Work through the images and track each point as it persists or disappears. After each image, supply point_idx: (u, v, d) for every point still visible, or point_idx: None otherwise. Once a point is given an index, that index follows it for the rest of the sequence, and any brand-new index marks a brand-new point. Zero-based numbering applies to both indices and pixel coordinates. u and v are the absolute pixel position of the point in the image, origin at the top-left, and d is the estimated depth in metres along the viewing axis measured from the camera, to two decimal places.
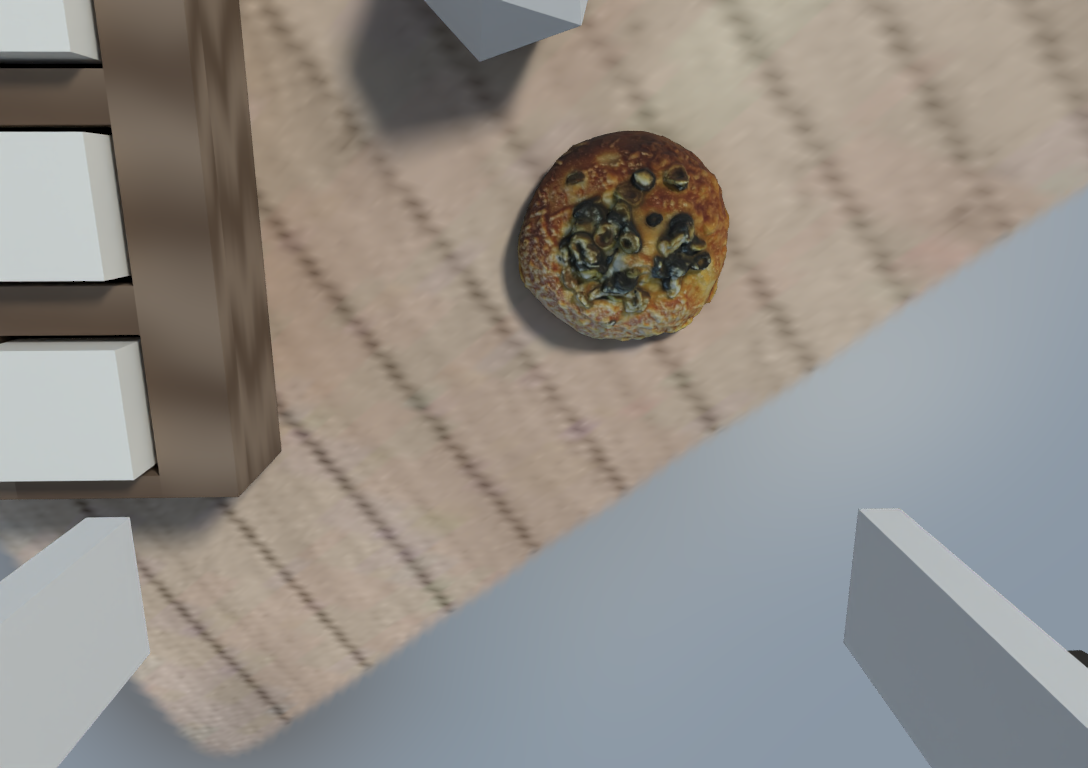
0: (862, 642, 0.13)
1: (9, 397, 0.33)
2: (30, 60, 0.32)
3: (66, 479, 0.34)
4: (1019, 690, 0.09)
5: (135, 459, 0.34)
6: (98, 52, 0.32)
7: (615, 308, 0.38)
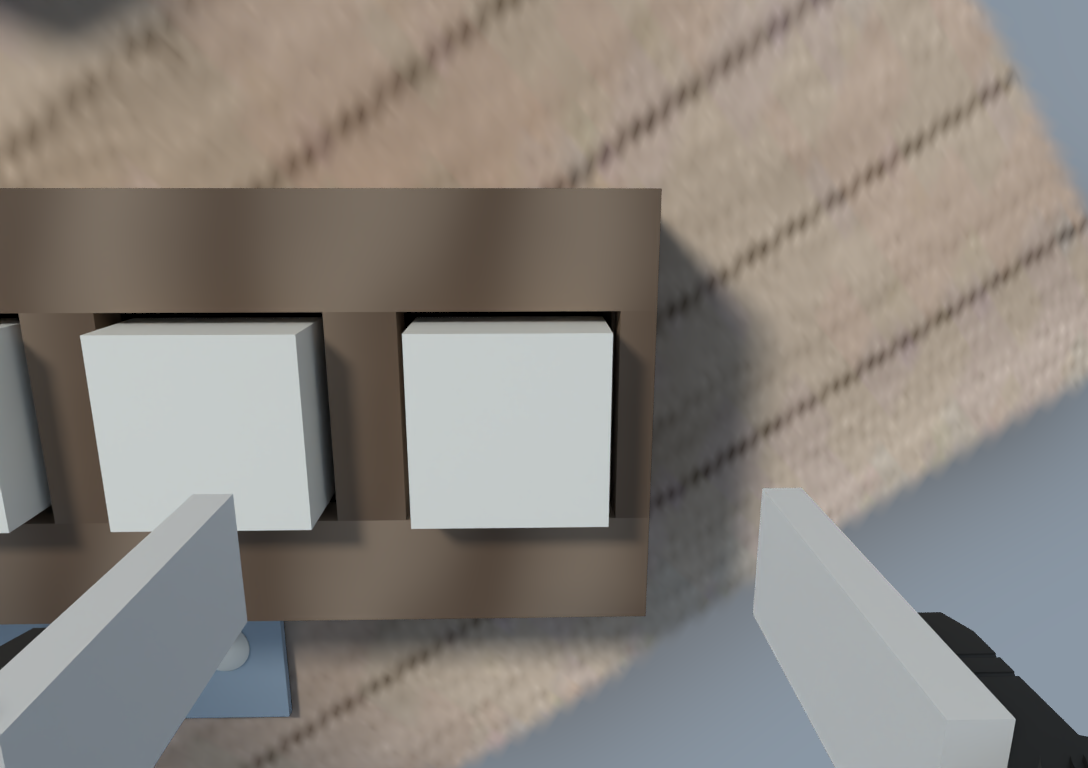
0: (765, 612, 0.14)
1: (479, 493, 0.23)
2: None
3: (610, 434, 0.22)
4: (866, 643, 0.10)
5: (583, 330, 0.22)
6: (9, 323, 0.23)
7: None
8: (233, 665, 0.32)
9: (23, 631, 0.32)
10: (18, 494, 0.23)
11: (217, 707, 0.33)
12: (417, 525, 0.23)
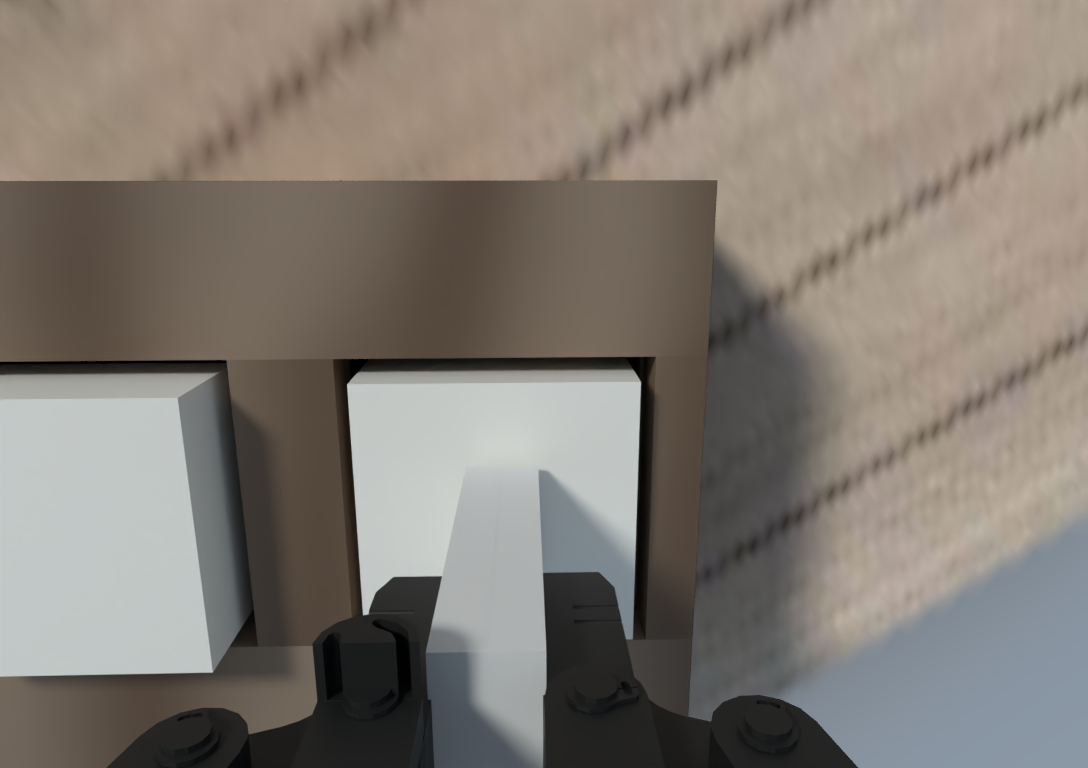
0: None
1: None
2: None
3: (635, 516, 0.16)
4: None
5: (599, 377, 0.16)
6: None
7: None
8: None
9: None
10: None
11: None
12: None
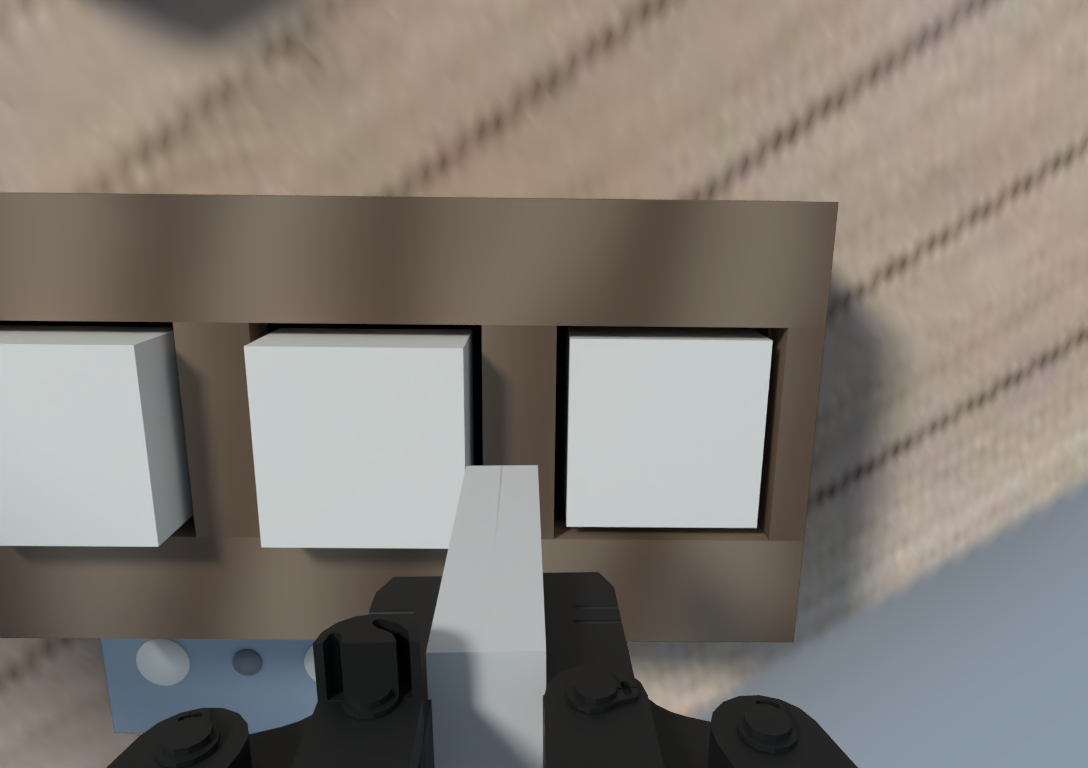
0: None
1: (633, 493, 0.23)
2: (180, 423, 0.23)
3: (762, 437, 0.23)
4: None
5: (741, 338, 0.23)
6: (159, 331, 0.23)
7: None
8: None
9: (130, 642, 0.31)
10: (165, 507, 0.22)
11: None
12: (572, 524, 0.24)
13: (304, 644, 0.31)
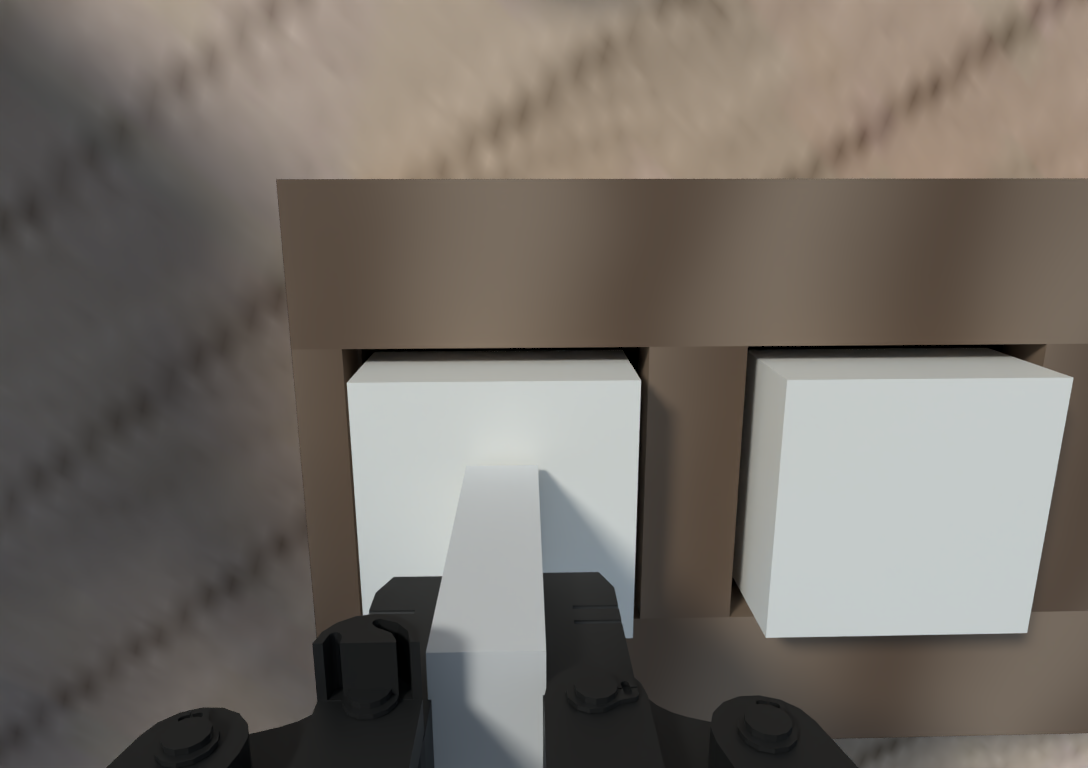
0: None
1: None
2: None
3: None
4: None
5: None
6: (614, 358, 0.17)
7: None
8: None
9: None
10: None
11: None
12: None
13: None
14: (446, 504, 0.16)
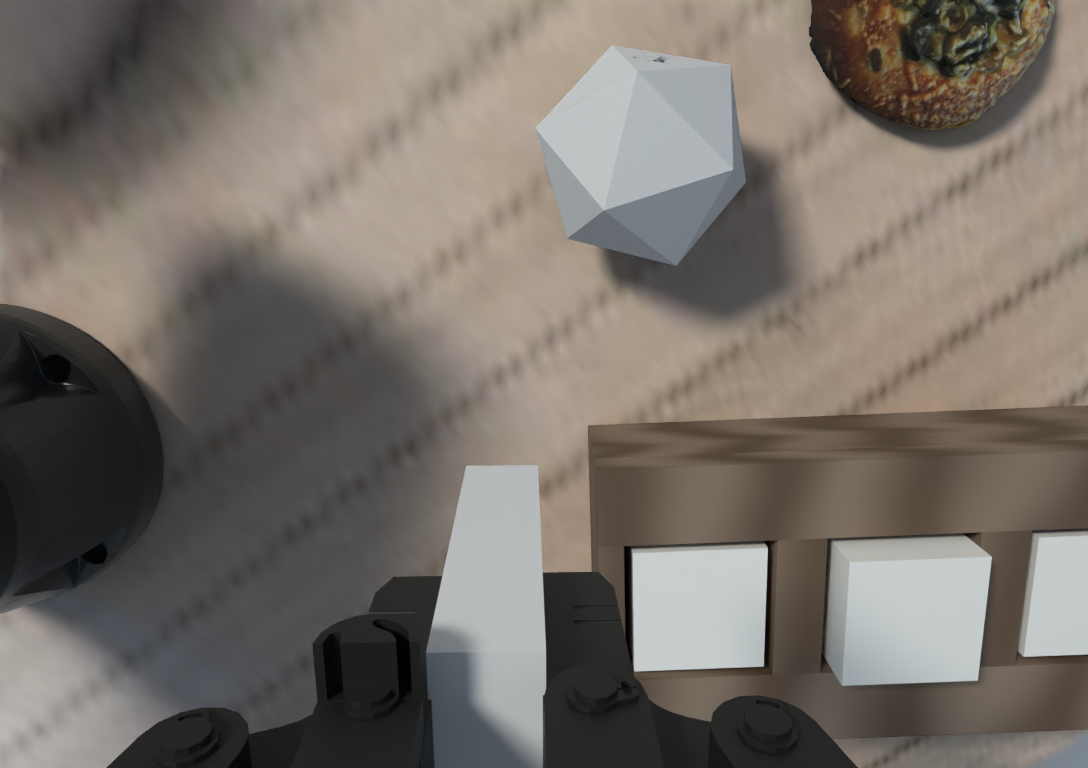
0: None
1: (1072, 633, 0.34)
2: None
3: None
4: None
5: None
6: None
7: (1032, 0, 0.32)
8: None
9: None
10: None
11: None
12: (1027, 654, 0.35)
13: None
14: (675, 606, 0.34)
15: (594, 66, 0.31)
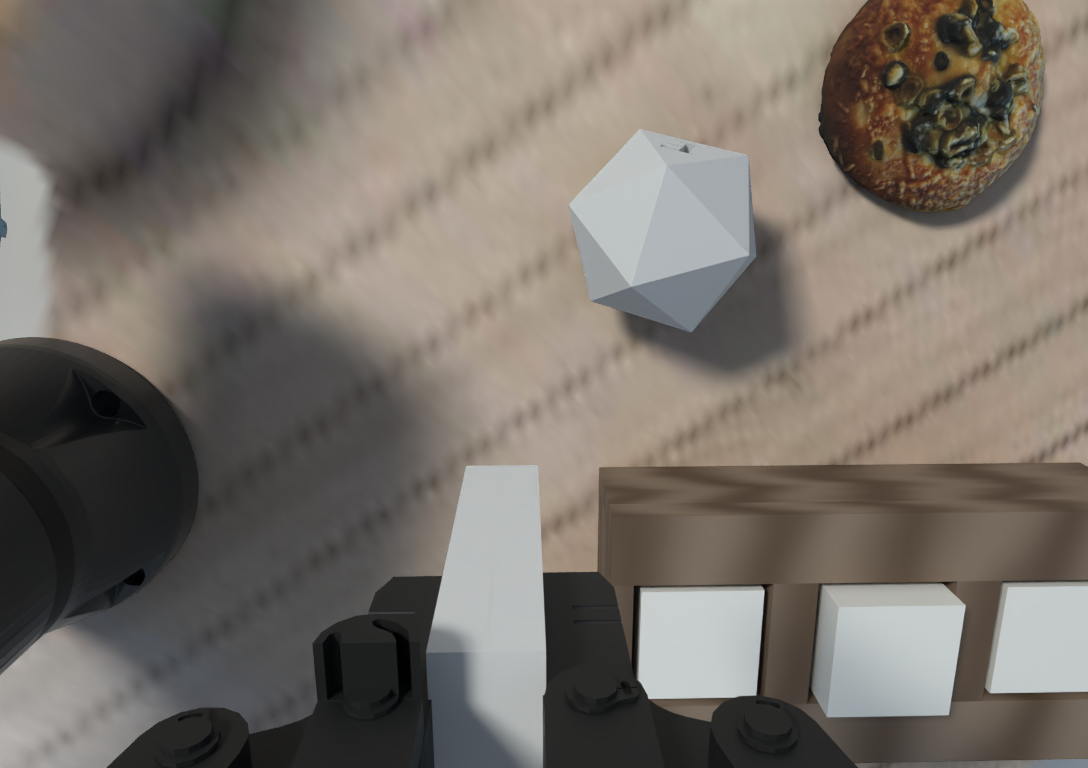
0: None
1: (1033, 673, 0.38)
2: None
3: None
4: None
5: None
6: None
7: (1020, 103, 0.35)
8: None
9: None
10: None
11: None
12: (993, 691, 0.38)
13: None
14: (678, 640, 0.37)
15: (623, 148, 0.34)
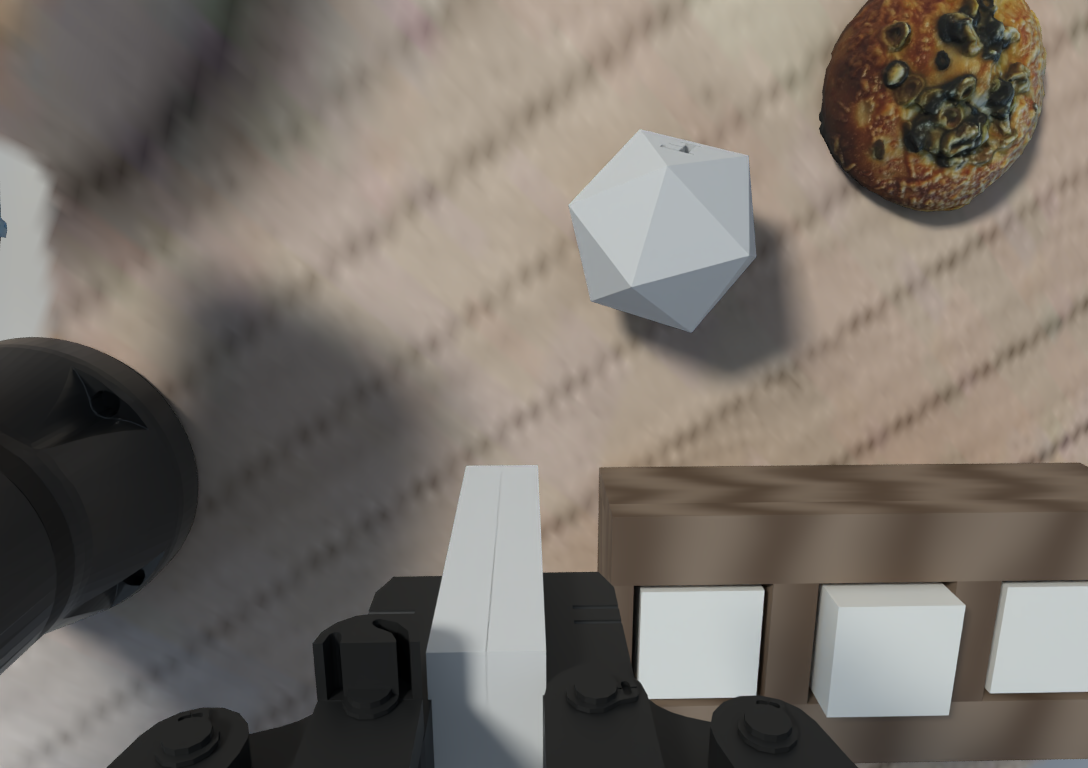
0: None
1: (1033, 673, 0.38)
2: None
3: None
4: None
5: None
6: None
7: (1021, 103, 0.35)
8: None
9: None
10: None
11: None
12: (993, 691, 0.38)
13: None
14: (678, 640, 0.37)
15: (623, 149, 0.34)
